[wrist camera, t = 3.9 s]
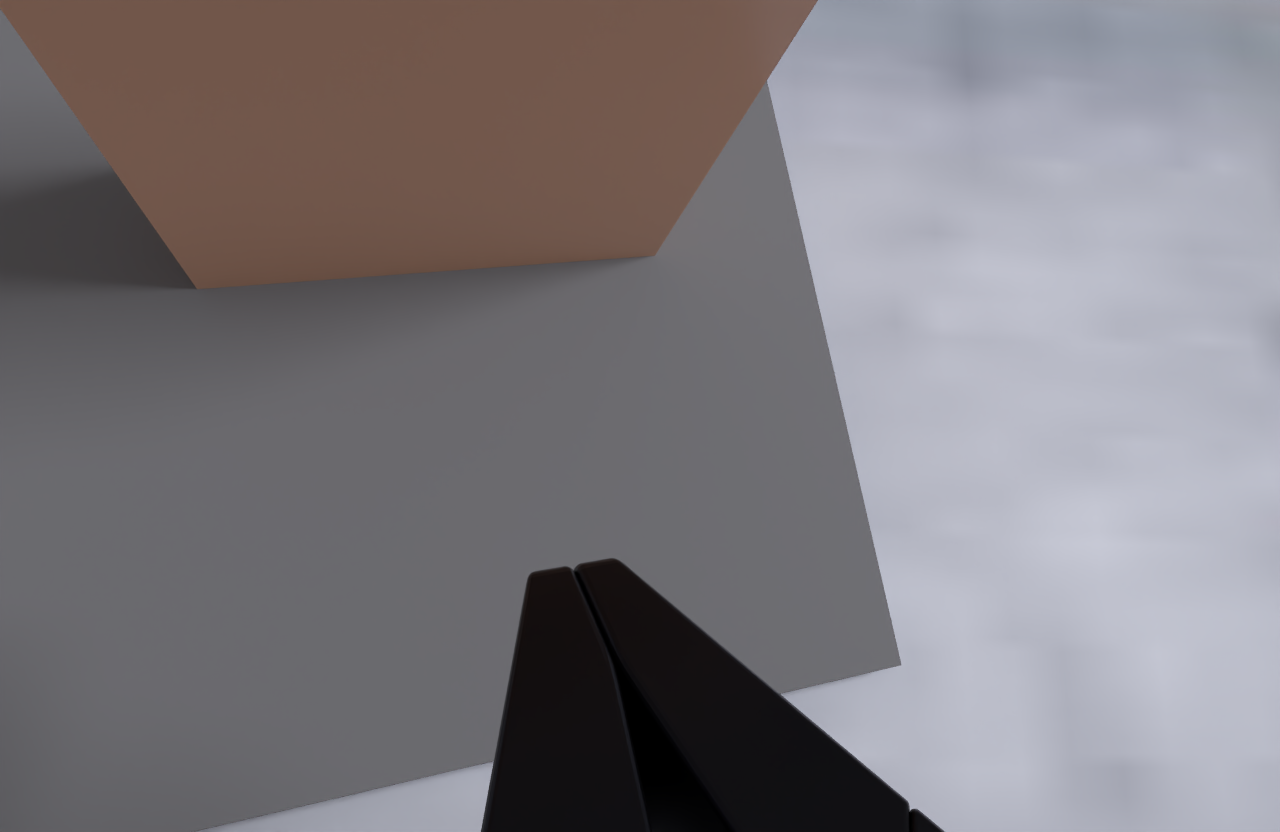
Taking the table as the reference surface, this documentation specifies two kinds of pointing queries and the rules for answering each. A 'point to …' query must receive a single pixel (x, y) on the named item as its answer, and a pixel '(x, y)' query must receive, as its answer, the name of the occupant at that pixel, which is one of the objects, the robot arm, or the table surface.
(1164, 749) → the table surface
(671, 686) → the robot arm
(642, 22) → the tile
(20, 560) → the mat
